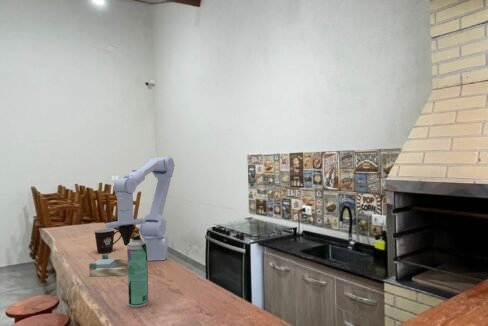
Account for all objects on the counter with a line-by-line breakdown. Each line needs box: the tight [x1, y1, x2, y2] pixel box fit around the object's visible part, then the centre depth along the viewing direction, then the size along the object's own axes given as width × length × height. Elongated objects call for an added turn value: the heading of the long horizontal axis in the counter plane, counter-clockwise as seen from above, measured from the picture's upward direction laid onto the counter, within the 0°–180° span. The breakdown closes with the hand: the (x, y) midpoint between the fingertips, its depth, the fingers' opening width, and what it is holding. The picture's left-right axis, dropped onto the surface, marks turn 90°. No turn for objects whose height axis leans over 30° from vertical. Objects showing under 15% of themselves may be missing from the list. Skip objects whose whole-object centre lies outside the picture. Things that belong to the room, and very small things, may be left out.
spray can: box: [126, 233, 149, 309], centre depth 102 cm, size 6×6×20 cm
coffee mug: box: [94, 228, 122, 255], centre depth 164 cm, size 12×9×10 cm
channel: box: [88, 253, 128, 278], centre depth 135 cm, size 13×13×4 cm
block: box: [93, 258, 117, 269], centre depth 136 cm, size 7×7×4 cm
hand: (126, 245), depth 135 cm, fingers closed
